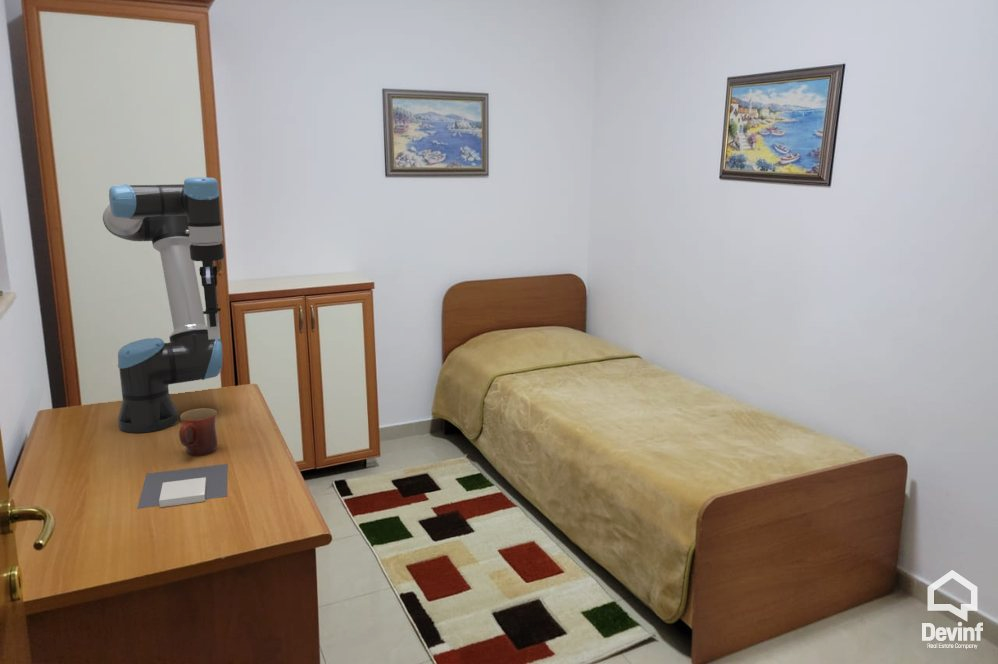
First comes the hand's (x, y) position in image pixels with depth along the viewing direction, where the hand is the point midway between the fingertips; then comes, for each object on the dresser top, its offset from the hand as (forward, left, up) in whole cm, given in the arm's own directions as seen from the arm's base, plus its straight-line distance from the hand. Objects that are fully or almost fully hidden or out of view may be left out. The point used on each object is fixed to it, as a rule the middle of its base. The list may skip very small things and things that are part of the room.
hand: (214, 338), depth 180 cm
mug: (+2, -6, -30) cm, 30 cm away
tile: (+21, -8, -28) cm, 36 cm away
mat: (+20, -8, -29) cm, 36 cm away
